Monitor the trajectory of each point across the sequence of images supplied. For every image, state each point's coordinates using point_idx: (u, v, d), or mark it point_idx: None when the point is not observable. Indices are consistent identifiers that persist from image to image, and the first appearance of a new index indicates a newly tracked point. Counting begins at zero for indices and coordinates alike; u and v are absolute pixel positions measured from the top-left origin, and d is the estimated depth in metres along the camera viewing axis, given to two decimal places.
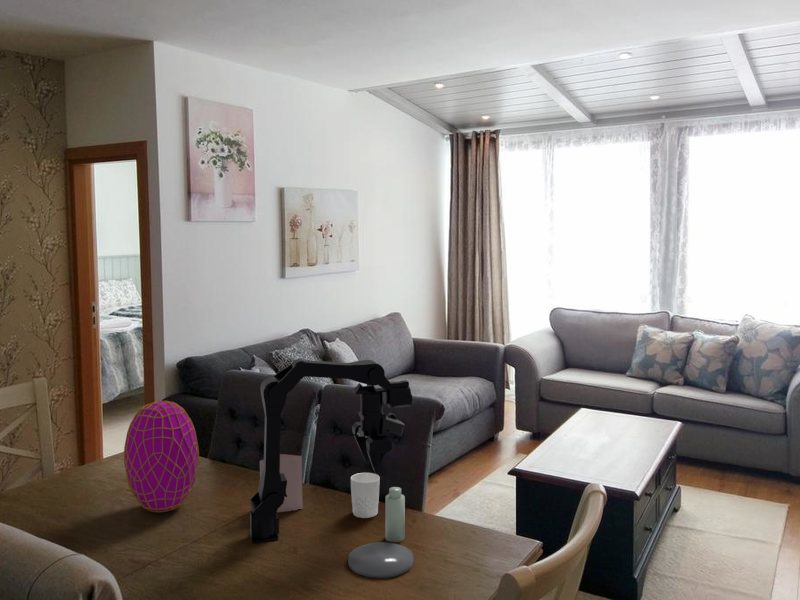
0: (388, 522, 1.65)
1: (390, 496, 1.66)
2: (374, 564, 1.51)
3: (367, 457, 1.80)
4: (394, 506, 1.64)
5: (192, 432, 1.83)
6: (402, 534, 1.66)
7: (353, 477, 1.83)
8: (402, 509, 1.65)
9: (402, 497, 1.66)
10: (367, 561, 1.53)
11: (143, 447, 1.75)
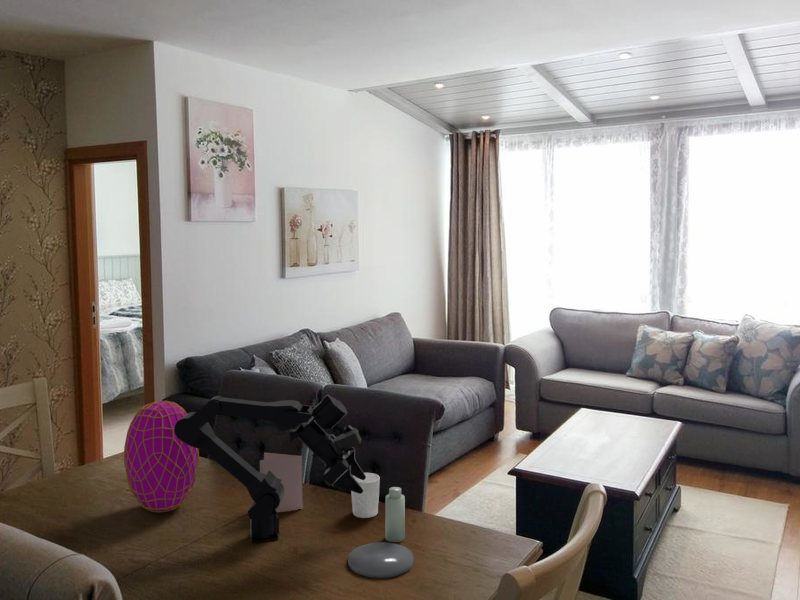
0: (388, 522, 1.65)
1: (390, 496, 1.66)
2: (374, 564, 1.51)
3: (360, 475, 1.71)
4: (394, 506, 1.64)
5: None
6: (402, 534, 1.66)
7: None
8: (402, 509, 1.65)
9: (402, 497, 1.66)
10: (367, 561, 1.53)
11: (143, 447, 1.75)
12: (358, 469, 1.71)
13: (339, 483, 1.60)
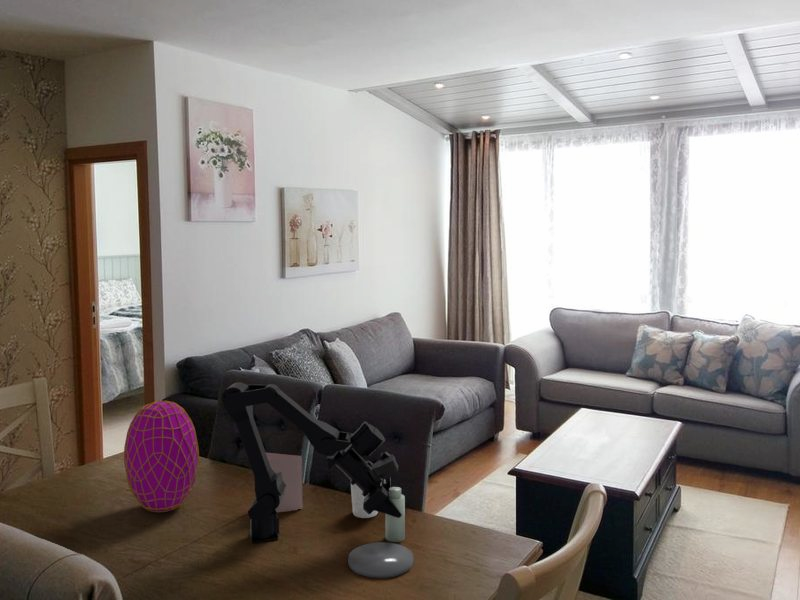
0: (388, 522, 1.65)
1: (390, 496, 1.66)
2: (374, 564, 1.51)
3: None
4: None
5: (192, 432, 1.83)
6: (402, 534, 1.66)
7: None
8: (402, 509, 1.65)
9: (402, 497, 1.66)
10: (367, 561, 1.53)
11: (143, 447, 1.75)
12: None
13: (378, 508, 1.62)
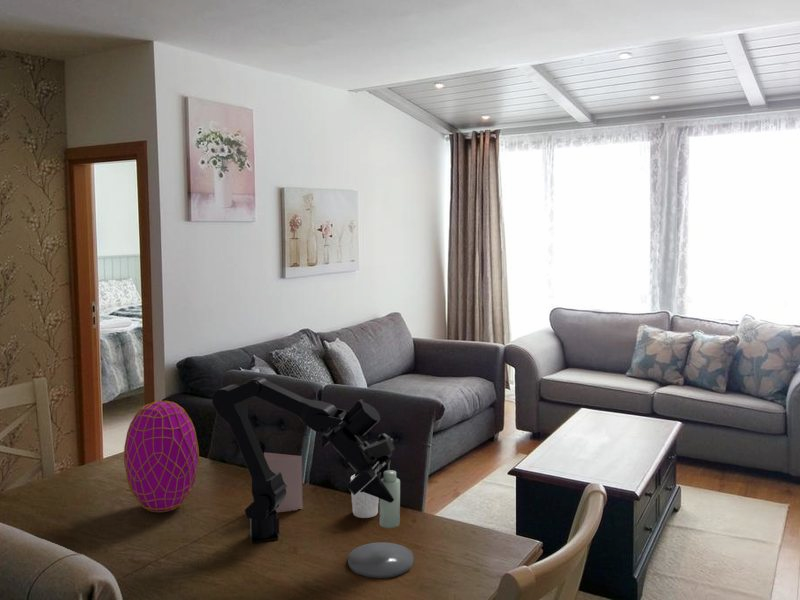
0: (381, 506, 1.58)
1: (384, 479, 1.58)
2: (374, 564, 1.51)
3: None
4: None
5: (192, 432, 1.83)
6: (395, 520, 1.58)
7: (353, 477, 1.83)
8: (395, 494, 1.57)
9: (397, 481, 1.58)
10: (367, 561, 1.53)
11: (143, 447, 1.75)
12: None
13: (368, 490, 1.55)
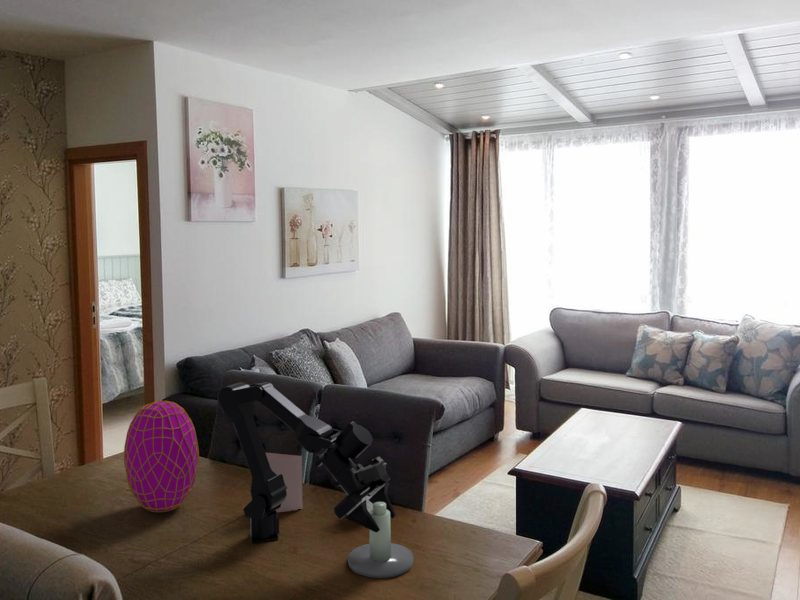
0: (370, 539, 1.53)
1: (373, 511, 1.53)
2: (374, 564, 1.51)
3: None
4: None
5: (192, 432, 1.83)
6: (384, 554, 1.53)
7: None
8: (384, 527, 1.52)
9: (386, 514, 1.53)
10: (367, 561, 1.53)
11: (143, 447, 1.75)
12: (387, 505, 1.58)
13: (353, 518, 1.50)
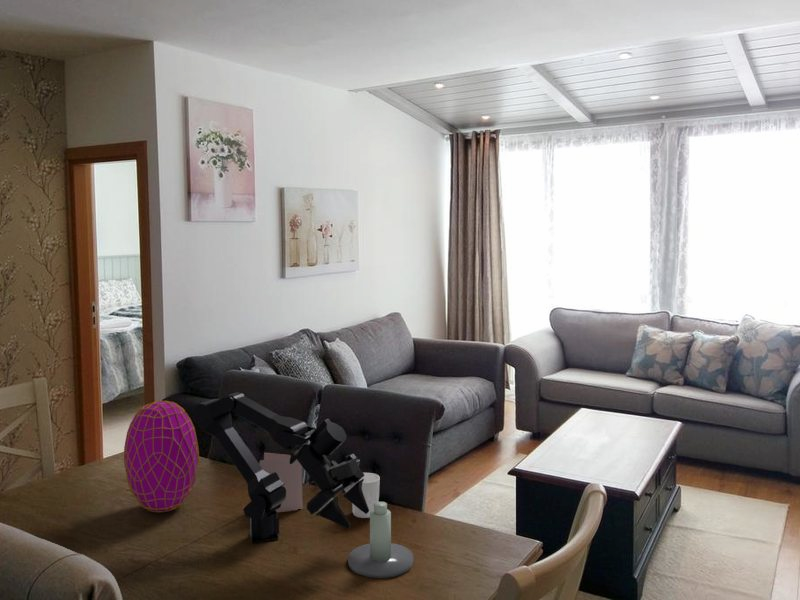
0: (370, 539, 1.53)
1: (374, 511, 1.53)
2: (374, 564, 1.51)
3: (363, 508, 1.61)
4: (375, 522, 1.52)
5: (192, 432, 1.83)
6: (385, 554, 1.53)
7: None
8: (384, 527, 1.52)
9: (387, 514, 1.53)
10: (367, 561, 1.53)
11: (143, 447, 1.75)
12: (361, 501, 1.61)
13: (325, 514, 1.52)
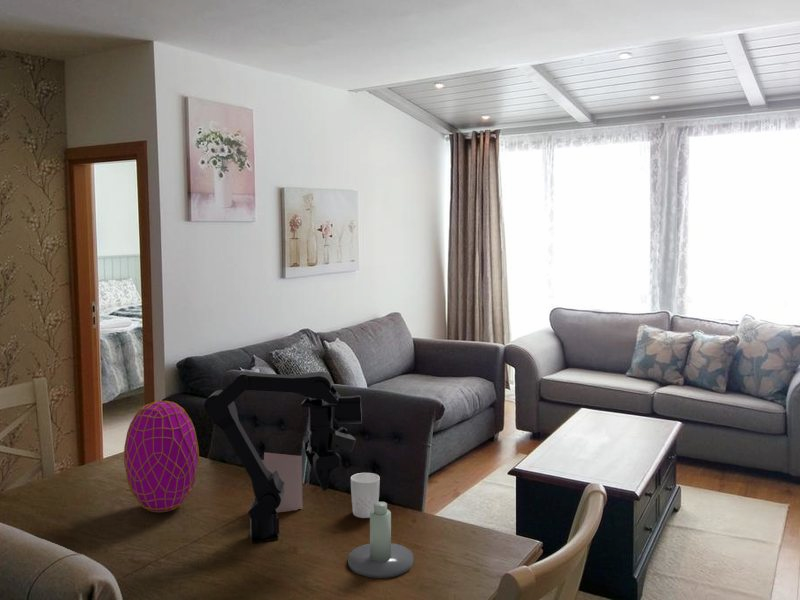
0: (370, 539, 1.53)
1: (374, 511, 1.53)
2: (374, 564, 1.51)
3: None
4: (375, 522, 1.52)
5: (192, 432, 1.83)
6: (385, 554, 1.53)
7: (353, 477, 1.83)
8: (385, 527, 1.52)
9: (387, 514, 1.53)
10: (367, 561, 1.53)
11: (143, 447, 1.75)
12: None
13: (318, 470, 1.61)
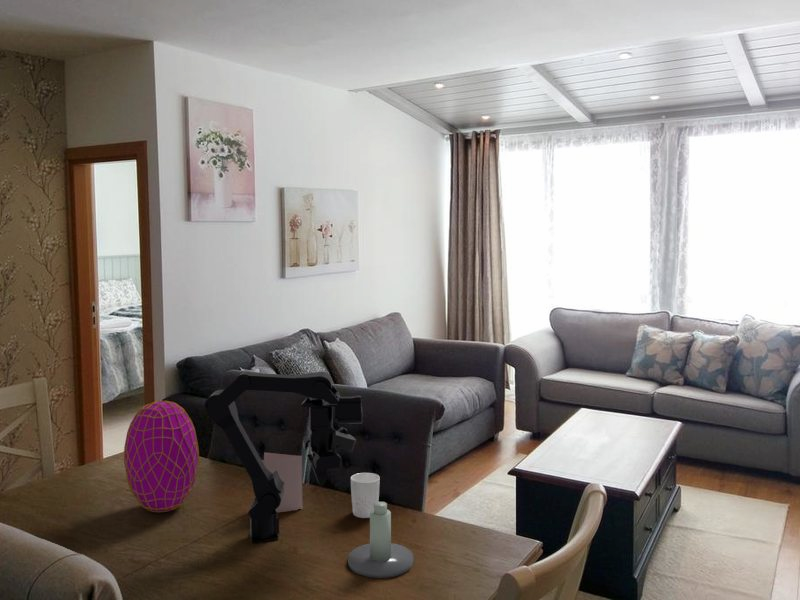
0: (370, 539, 1.53)
1: (374, 511, 1.53)
2: (374, 564, 1.51)
3: None
4: (375, 522, 1.52)
5: (192, 432, 1.83)
6: (385, 554, 1.53)
7: (353, 477, 1.83)
8: (384, 527, 1.52)
9: (387, 514, 1.53)
10: (367, 561, 1.53)
11: (143, 447, 1.75)
12: None
13: None
